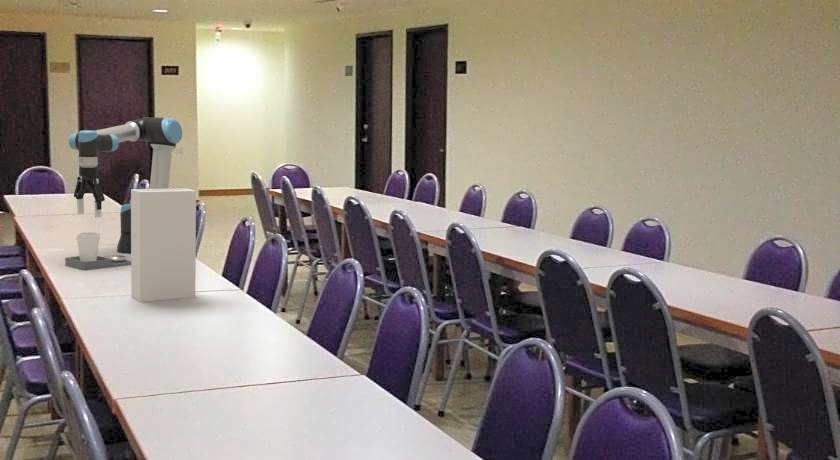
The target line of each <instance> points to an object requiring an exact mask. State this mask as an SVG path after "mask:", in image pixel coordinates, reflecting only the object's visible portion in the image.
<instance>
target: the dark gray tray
mask: <svg viewBox="0 0 840 460" xmlns="http://www.w3.org/2000/svg"><path fill="white" fill-rule="evenodd" d="M64 263H65V267H69V268H73V269H77V270H82V271H88V270H89V271H90V270H91V271H92V270H99V269H106V268H115V267H123V266H125V267H126V266H131V260H128V259H125V261H122V262H112V259H109V258H105V256H100V255H97V260H96V261H88V262H83V261H80V256H79V255H78V256H71V257H70V256H69V257H65V258H64Z"/></svg>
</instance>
